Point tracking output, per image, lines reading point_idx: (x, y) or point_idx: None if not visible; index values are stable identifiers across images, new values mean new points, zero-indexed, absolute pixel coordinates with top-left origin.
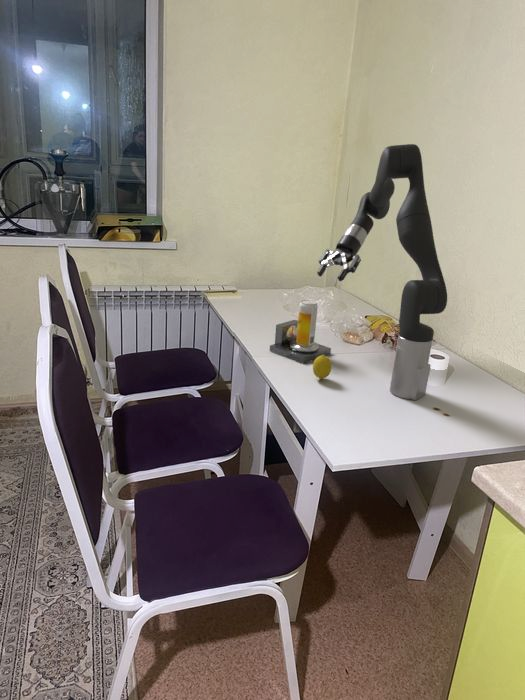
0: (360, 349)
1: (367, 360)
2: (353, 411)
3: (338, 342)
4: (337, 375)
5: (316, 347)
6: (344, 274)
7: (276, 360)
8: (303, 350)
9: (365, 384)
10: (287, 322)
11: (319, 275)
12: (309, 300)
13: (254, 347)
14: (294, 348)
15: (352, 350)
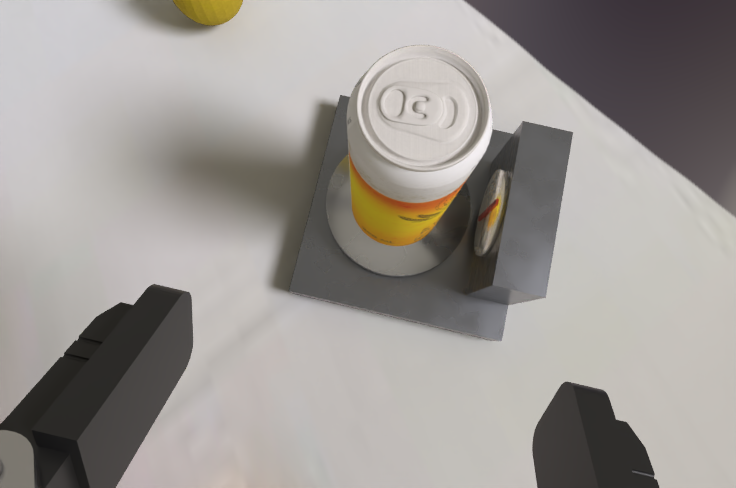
0: (187, 454)
1: None
2: None
3: (321, 483)
4: (178, 84)
5: (332, 204)
6: (61, 368)
7: None
8: None
9: (57, 70)
10: (547, 213)
11: (553, 413)
12: (447, 164)
13: (602, 146)
14: None
15: (218, 410)
